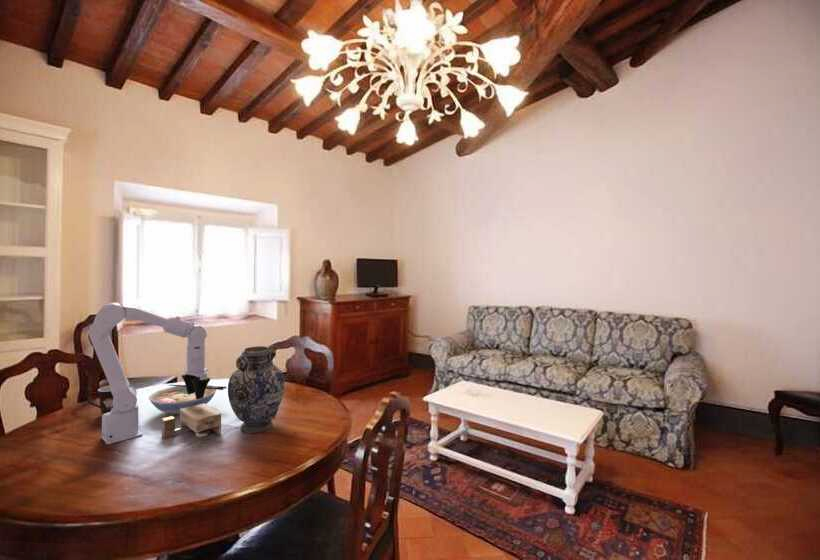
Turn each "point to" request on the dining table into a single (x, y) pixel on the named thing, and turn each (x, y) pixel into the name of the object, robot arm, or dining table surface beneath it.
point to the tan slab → (200, 418)
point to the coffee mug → (103, 399)
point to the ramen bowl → (180, 398)
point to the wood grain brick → (171, 428)
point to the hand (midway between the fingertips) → (195, 395)
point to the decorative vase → (256, 388)
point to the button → (202, 433)
